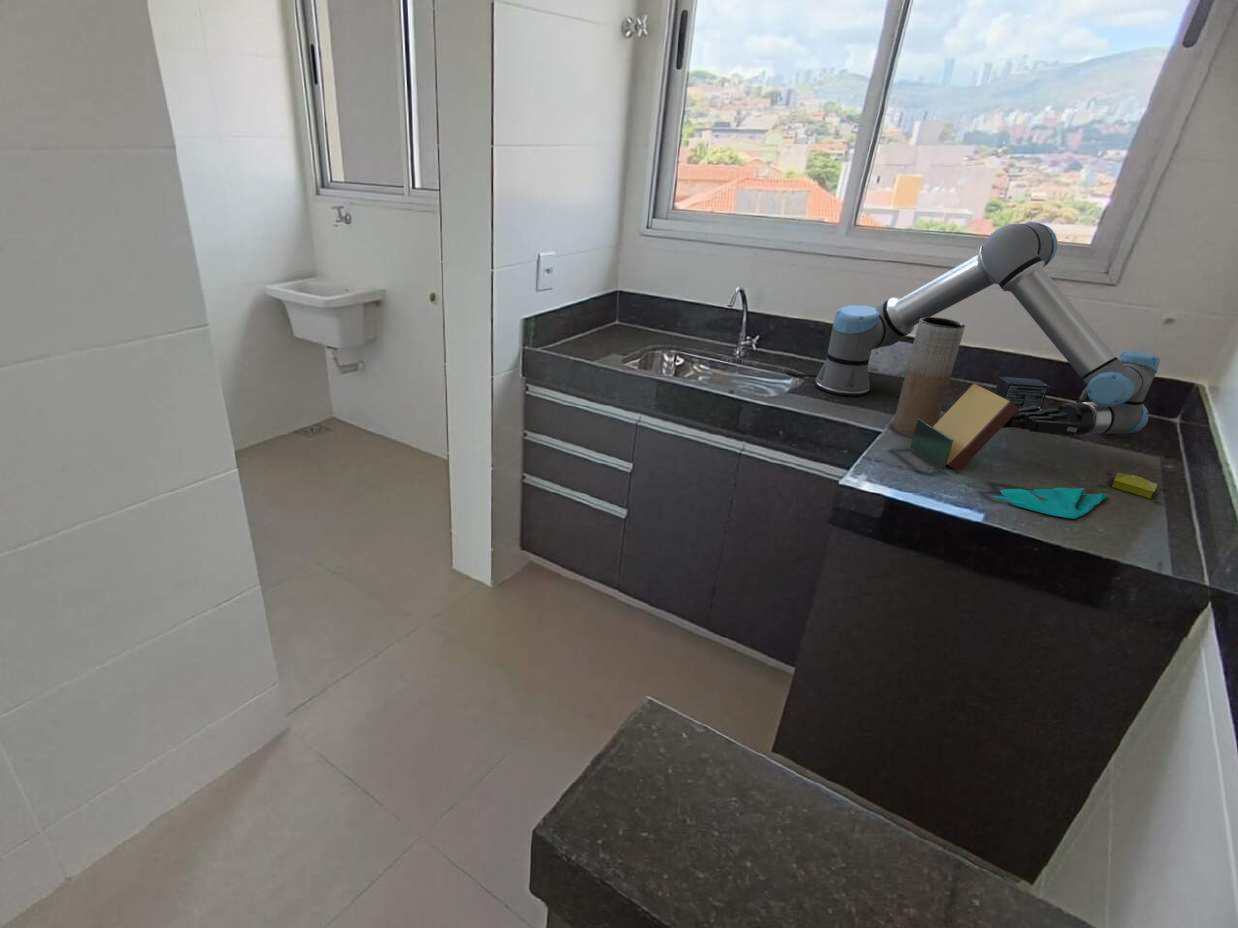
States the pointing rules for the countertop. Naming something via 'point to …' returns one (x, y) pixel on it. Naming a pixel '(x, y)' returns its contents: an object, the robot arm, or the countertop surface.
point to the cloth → (1053, 501)
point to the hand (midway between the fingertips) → (993, 421)
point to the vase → (928, 372)
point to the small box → (1022, 391)
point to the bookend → (931, 444)
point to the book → (973, 423)
